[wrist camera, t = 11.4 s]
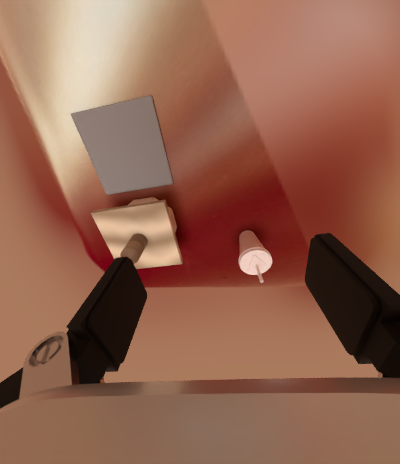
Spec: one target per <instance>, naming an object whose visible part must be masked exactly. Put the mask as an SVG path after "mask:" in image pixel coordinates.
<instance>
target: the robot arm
mask: <svg viewBox="0 0 400 464" xmlns="http://www.w3.org/2000/svg"><path fill="white" fill-rule="evenodd" d="M305 282H306V285H307V287H308V289H309V290H310V292H311V293H312V295H313V297H314V298H315V300H316V302H317V303H318V305H319V307H320V308H321V310H322V312H323V313H324V315H325V316H326V318H327V320H328V321H329V323H330V325H331V326H332V328H333V330H334V331H335V333H336V335H337V336H338V338H339V340H340V341H341V343H342V345H343V346H344V348H345V350H346V351H347V352H348V353H349V354H350V355H353V356H354V357H355V359H356V361H357V362H358V364H373V365H374V367H375V368H376V369H377V371H378V378H290V379H289V378H287V379H237V380H196V381H195V380H194V381H155V382H121V383H105V382H104V378H103V376H104V374H105V372H111V371H112V372H113V371H118V369H119V366H120V364H121V363H123V361H124V359H125V357H126V354H127V351H128V349H129V346H130V343H131V340H132V338H133V335H134V332H135V329H136V327H137V324H138V321H139V318H140V316H141V313H142V310H143V307H144V305H145V302H146V299H147V292H146V290H145V288H144V285H143V283H142V281H141V279H140V277H139V274H138V272H137V270H136V268H135V266H134V263H133V261H132V260H131V259H129V258H128V257H117V258H115V259H114V261H113V262H112V263H111V265H110V266H109V268H108V269H107V271H106V272H105V273H104V275H103V276H102V278H101V279H100V281H99V282H98V283H97V285H96V286H95V288H94V289H93V290H92V292H91V293H90V295H89V296H88V297H87V299H86V300H85V302H84V303H83V304H82V306H81V307H80V309H79V310H78V311H77V313H76V314H75V316H74V317H73V319H72V320H71V321H70V323H69V324H68V325H67V327H68V329H69V330H68V332H67V333H64V332H56V333H53V334H51V335H49V336H47V337H46V338H44V339H43V340H41V341H40V342H39V343H38V344H37V345H36V346H35V347H34V348H33V349H32V350H31V351H30V353H29V354H28V356H27V357H26V359H25V362H24V367H23V368H21V369H20V370H19V371H17V372H16V373H14V374H13V375H11V376H10V377H8V378H7V379H5V380H4V381H2V382H1V383H0V464H400V295H399V294H398V293H397V292H396V291H394V289H392V288H391V287H390V286H389V285H388V284H387V283H386V282H385V281H383V280H382V279H381V278H380V277H379V276H378V275H377V274H376V273H375V272H373V271H372V270H371V269H370V268H369V267H368V266H367V265H366V264H364V263H363V262H362V261H361V260H360V259H359V258H357V256H355V255H354V254H353V253H352V252H351V251H350V250H349V249H348V248H347V247H345V246H344V245H343V244H342V243H341V242H340V241H339V240H338V239H336V238H335V237H334V236H333V235H332V234H330V233H326V234H317V235H315V237H314V238H312V239H311V243H310V249H309V255H308V262H307V268H306V274H305Z"/></svg>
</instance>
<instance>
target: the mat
mask: <svg viewBox="0 0 400 464" xmlns="http://www.w3.org/2000/svg"><path fill="white" fill-rule="evenodd" d="M71 116H72V118H73V120H74V123H75V125H76V127H77V130H78V132H79V134H80V136H81V139H82V141H83V143H84V145H85V148H86V150H87V152H88V154H89V157H90V159H91V161H92V163H93V166H94V168H95V170H96V172H97V175H98V177H99V179H100V181H101V184H102V186H103V188H104V190H105V193H106V195H108V194H115V193H121V192H127V191H133V190H139V189H145V188H151V187H157V186H164V185H170V184H173V179H172V175H171V171H170V167H169V163H168V159H167V155H166V151H165V147H164V143H163V139H162V134H161V130H160V126H159V122H158V118H157V114H156V110H155V106H154V102H153V98H152V96H146V97H142V98H138V99H133V100H129V101H125V102H120V103H116V104H112V105H107V106H103V107H98V108H94V109H90V110H85V111H81V112H77V113H72V114H71Z"/></svg>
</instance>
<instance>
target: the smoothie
mask: <svg viewBox="0 0 400 464" xmlns="http://www.w3.org/2000/svg"><path fill="white" fill-rule="evenodd" d="M239 242H240V257H239V265H240V268H241V269H242V271H244V272H245V273H247V274H251V275H258V277H259V280H260V282H261V283H262V282H263V279H262V276H261V273H264V272H265V271H267V270H268V269H269V268H270V267H271V265H272V257H271V255H270V253H269V252H268V251H267V250H266V249H265V248H264V247H263V245H262V244H261V243H260V241H259V240H258V238H257V237H256V236H255V234H254V233H253V232H252V231H249V230H247V231H244V232H242V233H241V234H240V236H239Z"/></svg>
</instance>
